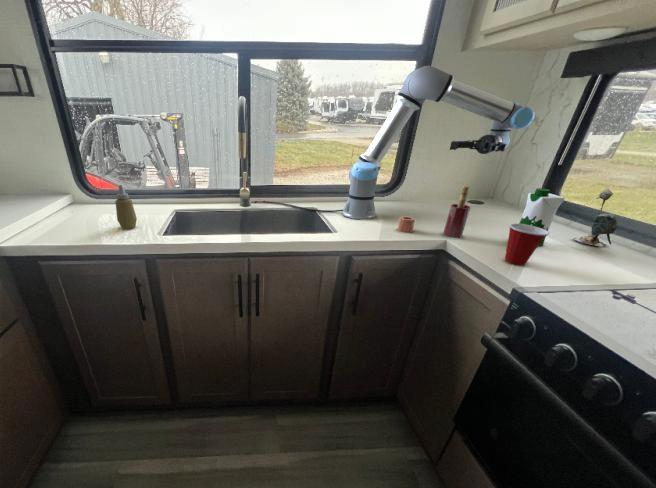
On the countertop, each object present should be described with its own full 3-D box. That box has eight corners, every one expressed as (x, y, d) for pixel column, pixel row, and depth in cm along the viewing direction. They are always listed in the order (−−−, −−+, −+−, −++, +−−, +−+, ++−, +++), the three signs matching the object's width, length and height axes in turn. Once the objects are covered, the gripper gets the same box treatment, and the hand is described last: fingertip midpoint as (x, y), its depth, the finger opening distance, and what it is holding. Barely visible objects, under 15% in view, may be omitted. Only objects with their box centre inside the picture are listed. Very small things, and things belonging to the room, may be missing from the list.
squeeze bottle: (115, 228, 147) (105, 186, 138) (128, 223, 153) (120, 182, 144) (128, 231, 143) (119, 187, 135) (142, 226, 150) (134, 184, 141)
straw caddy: (396, 232, 141) (399, 219, 139) (397, 228, 146) (400, 215, 143) (412, 234, 139) (415, 220, 136) (412, 229, 144) (415, 217, 141)
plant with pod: (592, 249, 123) (621, 193, 113) (568, 239, 133) (593, 186, 123) (615, 249, 123) (646, 193, 113) (590, 239, 133) (617, 187, 123)
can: (443, 237, 136) (451, 207, 130) (442, 232, 141) (450, 203, 135) (462, 239, 133) (471, 209, 127) (460, 234, 139) (469, 205, 133)
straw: (449, 235, 136) (463, 186, 127) (449, 233, 138) (462, 185, 129) (455, 236, 136) (470, 187, 126) (455, 234, 137) (469, 186, 128)
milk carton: (508, 239, 133) (527, 187, 123) (531, 239, 133) (552, 187, 123) (522, 246, 126) (545, 192, 116) (547, 246, 125) (571, 192, 116)
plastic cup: (542, 269, 108) (558, 233, 102) (504, 267, 109) (518, 231, 104) (525, 257, 117) (540, 223, 111) (491, 255, 119) (503, 221, 113)
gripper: (519, 155, 138) (501, 160, 126) (455, 151, 154) (434, 154, 142) (526, 135, 134) (509, 138, 122) (460, 133, 151) (439, 135, 138)
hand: (469, 147), depth 132 cm, fingers open, 13 cm apart
